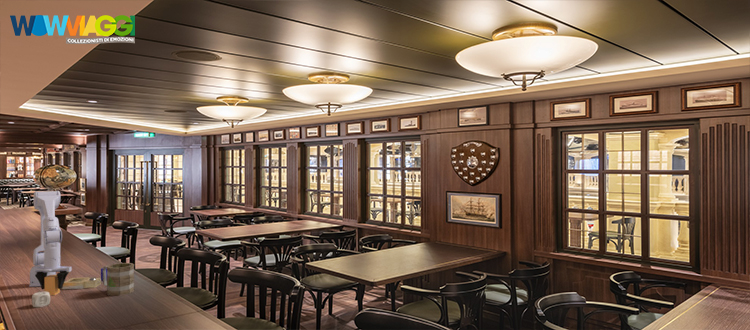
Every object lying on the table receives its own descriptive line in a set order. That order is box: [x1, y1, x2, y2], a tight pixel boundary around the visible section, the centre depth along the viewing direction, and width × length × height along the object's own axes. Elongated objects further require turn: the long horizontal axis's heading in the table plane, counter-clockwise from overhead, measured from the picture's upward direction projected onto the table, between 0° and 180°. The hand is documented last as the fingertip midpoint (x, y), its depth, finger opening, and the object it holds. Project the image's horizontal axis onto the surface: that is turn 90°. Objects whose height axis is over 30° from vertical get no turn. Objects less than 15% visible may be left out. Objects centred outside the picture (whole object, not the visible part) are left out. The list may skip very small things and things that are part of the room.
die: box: [31, 291, 51, 308], centre depth 178 cm, size 5×5×5 cm
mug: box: [102, 262, 135, 297], centre depth 197 cm, size 16×11×12 cm
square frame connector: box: [60, 276, 102, 290], centre depth 204 cm, size 18×8×4 cm, turn 100°
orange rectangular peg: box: [44, 274, 61, 296], centre depth 193 cm, size 4×4×8 cm
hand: (52, 288), depth 193 cm, fingers open, 6 cm apart
